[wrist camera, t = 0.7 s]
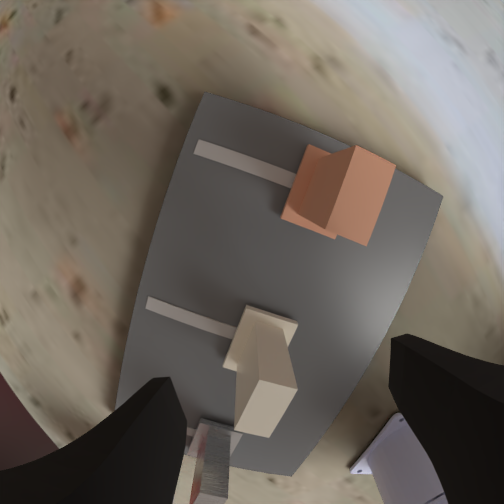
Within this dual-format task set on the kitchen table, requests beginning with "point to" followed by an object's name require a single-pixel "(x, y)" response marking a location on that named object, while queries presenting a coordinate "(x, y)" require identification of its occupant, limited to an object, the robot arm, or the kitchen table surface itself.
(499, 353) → the kitchen table surface
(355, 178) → the terracotta paddle
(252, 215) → the switch panel
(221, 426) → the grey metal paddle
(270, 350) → the cream upright block
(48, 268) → the kitchen table surface
